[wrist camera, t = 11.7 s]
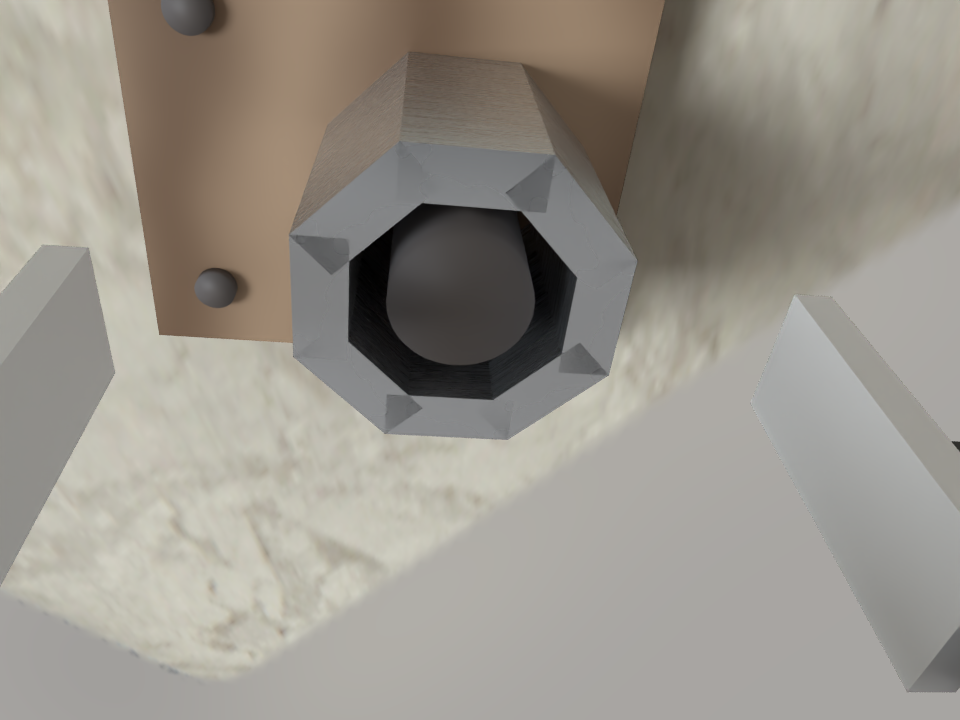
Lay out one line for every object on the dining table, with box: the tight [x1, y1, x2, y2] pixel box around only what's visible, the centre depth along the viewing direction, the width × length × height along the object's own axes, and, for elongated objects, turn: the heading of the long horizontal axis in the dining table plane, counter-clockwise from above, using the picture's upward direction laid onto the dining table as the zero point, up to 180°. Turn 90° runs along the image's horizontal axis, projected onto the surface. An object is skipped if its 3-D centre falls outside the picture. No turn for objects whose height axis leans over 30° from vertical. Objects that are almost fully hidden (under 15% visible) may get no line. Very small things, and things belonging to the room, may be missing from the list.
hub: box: [289, 52, 638, 440], centre depth 19 cm, size 7×7×7 cm
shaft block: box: [108, 0, 665, 365], centre depth 20 cm, size 14×12×9 cm
